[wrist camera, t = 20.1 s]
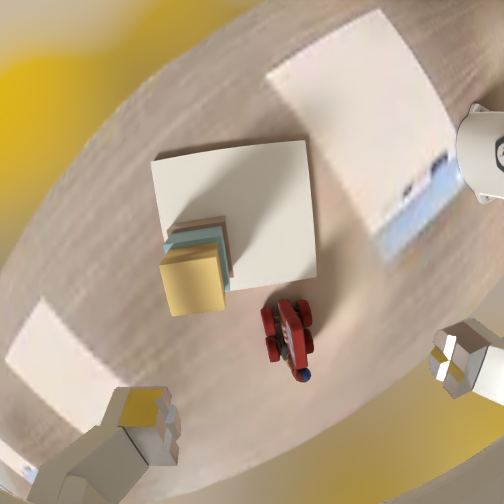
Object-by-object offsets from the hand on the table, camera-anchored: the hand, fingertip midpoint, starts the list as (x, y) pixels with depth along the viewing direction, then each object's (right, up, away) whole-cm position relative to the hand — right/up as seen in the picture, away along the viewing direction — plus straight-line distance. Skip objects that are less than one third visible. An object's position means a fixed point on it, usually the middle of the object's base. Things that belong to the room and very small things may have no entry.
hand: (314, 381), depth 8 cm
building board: (-4, +8, +32) cm, 33 cm away
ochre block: (-7, +2, +23) cm, 24 cm away
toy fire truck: (+3, -8, +38) cm, 39 cm away
